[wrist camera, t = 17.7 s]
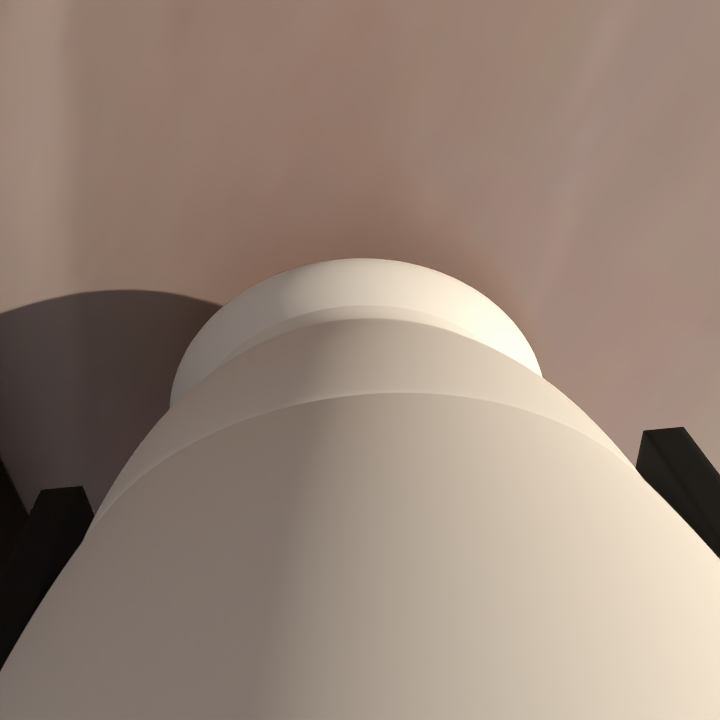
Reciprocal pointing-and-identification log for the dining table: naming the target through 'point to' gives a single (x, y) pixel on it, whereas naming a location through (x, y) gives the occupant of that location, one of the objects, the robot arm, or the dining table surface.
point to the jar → (373, 533)
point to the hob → (9, 517)
